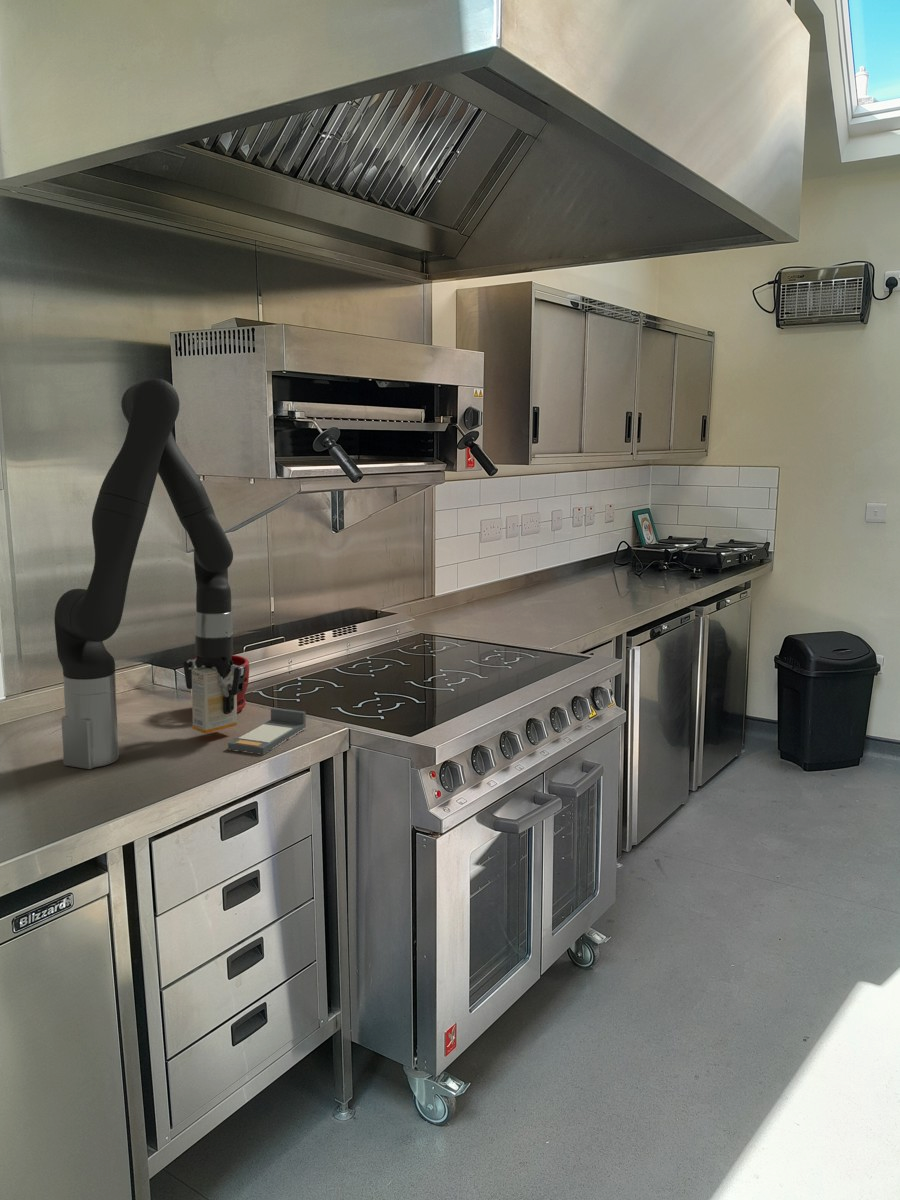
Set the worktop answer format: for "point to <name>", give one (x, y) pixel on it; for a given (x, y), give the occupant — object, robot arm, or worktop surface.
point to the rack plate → (271, 731)
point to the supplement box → (210, 702)
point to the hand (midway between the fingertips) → (214, 711)
